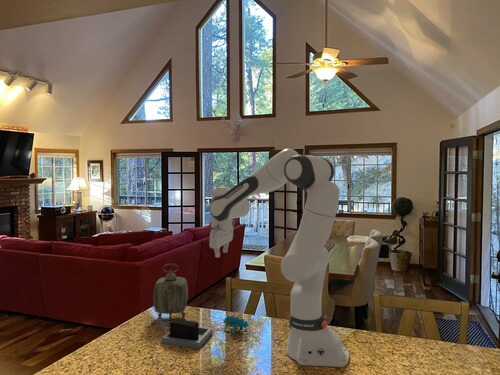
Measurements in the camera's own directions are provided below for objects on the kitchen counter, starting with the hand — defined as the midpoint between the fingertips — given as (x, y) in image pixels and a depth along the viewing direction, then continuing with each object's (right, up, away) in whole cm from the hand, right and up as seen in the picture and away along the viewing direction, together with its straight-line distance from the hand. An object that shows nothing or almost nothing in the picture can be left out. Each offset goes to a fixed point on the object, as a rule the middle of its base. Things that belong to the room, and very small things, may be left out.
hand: (221, 254), depth 166 cm
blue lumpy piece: (+7, -30, -10) cm, 32 cm away
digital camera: (-13, -30, -19) cm, 38 cm away
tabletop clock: (-23, -29, +2) cm, 37 cm away
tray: (-12, -30, -18) cm, 37 cm away
